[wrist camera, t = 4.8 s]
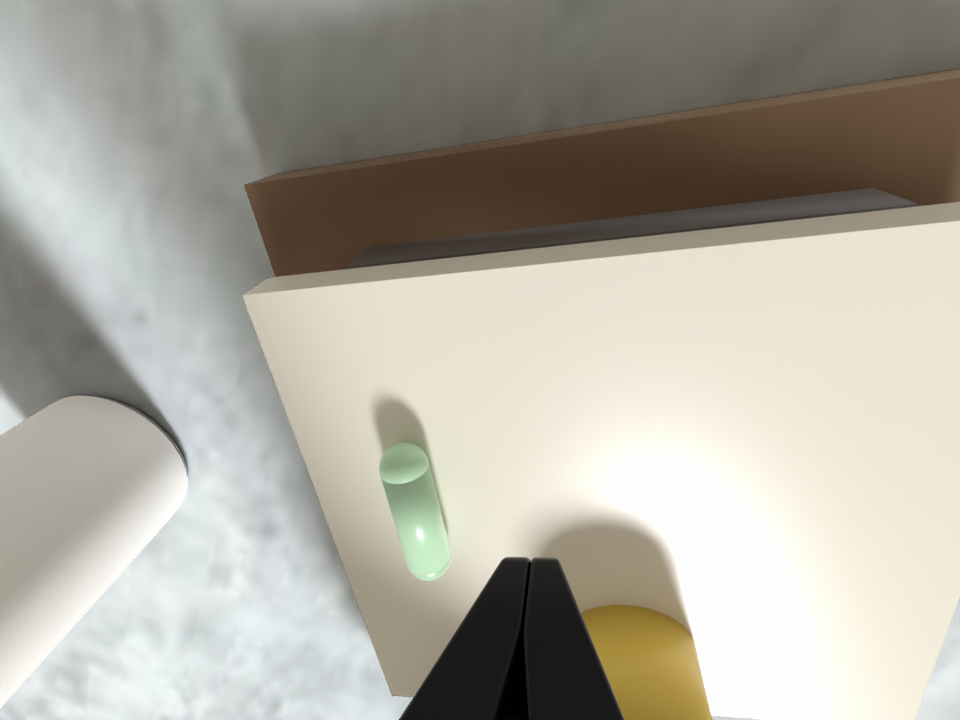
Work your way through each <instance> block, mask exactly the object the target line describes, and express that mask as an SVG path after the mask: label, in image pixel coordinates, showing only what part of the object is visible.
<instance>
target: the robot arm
mask: <svg viewBox="0 0 960 720" xmlns="http://www.w3.org/2000/svg"><path fill="white" fill-rule="evenodd" d="M399 720H625V719H624V716H623V714H622V711H621V709H620V706H619V704H618V702H617V699H616V697H615V694H614V692H613V689H612V687H611V685H610V682H609V680H608V677H607V675H606V672H605V670H604V668H603V665H602V663H601V660H600V658H599V655H598V653H597V651H596V648H595V646H594V643H593V641H592V638H591V636H590V634H589V631H588V629H587V626H586V624H585V621H584V619H583V617H582V614H581V612H580V609H579V607H578V604H577V602H576V600H575V597H574V595H573V592H572V590H571V587H570V585H569V583H568V580H567V578H566V575H565V573H564V570H563V568H562V566H561V563H560V561H559V560H558V559H557V558H555V557H534V558H533V559H532V560H530V559H529V558H527V557H505V558H503V559H502V560H501V562H500V563H499V565H498V566H497V568H496V569H495V571H494V572H493V574H492V576H491V577H490V579H489V580H488V582H487V583H486V585H485V586H484V588H483V590H482V591H481V593H480V594H479V596H478V597H477V599H476V601H475V602H474V604H473V605H472V607H471V608H470V610H469V611H468V613H467V615H466V616H465V618H464V619H463V621H462V622H461V624H460V625H459V627H458V629H457V630H456V632H455V633H454V635H453V636H452V638H451V639H450V641H449V643H448V644H447V646H446V647H445V649H444V650H443V652H442V653H441V655H440V657H439V658H438V660H437V661H436V663H435V664H434V666H433V667H432V669H431V671H430V672H429V674H428V675H427V677H426V678H425V680H424V681H423V683H422V685H421V686H420V688H419V689H418V691H417V692H416V694H415V695H414V697H413V699H412V700H411V702H410V703H409V705H408V706H407V708H406V710H405V711H404V713H403V714H402V716H401V717H400V719H399Z"/></svg>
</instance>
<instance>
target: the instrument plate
mask: <svg viewBox="0 0 960 720" xmlns="http://www.w3.org/2000/svg"><path fill="white" fill-rule="evenodd" d="M242 297H243V299H244V302H245V305H246V307H247V310H248V313H249V315H250V318H251V321H252V323H253V326H254V329H255V331H256V334H257V337H258V339H259V342H260V345H261V347H262V350H263V353H264V355H265V358H266V361H267V363H268V366H269V369H270V371H271V374H272V377H273V379H274V382H275V385H276V387H277V390H278V393H279V396H280V398H281V401H282V404H283V406H284V409H285V412H286V414H287V417H288V420H289V422H290V425H291V428H292V430H293V433H294V436H295V438H296V441H297V444H298V446H299V449H300V452H301V454H302V457H303V460H304V462H305V465H306V468H307V470H308V473H309V476H310V478H311V481H312V484H313V486H314V489H315V492H316V494H317V497H318V500H319V502H320V505H321V508H322V510H323V513H324V516H325V518H326V521H327V524H328V526H329V529H330V532H331V534H332V537H333V540H334V542H335V545H336V548H337V550H338V553H339V556H340V558H341V561H342V564H343V566H344V569H345V572H346V574H347V577H348V580H349V582H350V585H351V588H352V590H353V593H354V596H355V598H356V601H357V604H358V606H359V609H360V612H361V614H362V617H363V620H364V622H365V625H366V628H367V630H368V633H369V636H370V638H371V641H372V644H373V646H374V649H375V652H376V654H377V657H378V660H379V662H380V665H381V668H382V670H383V673H384V676H385V678H386V681H387V684H388V686H389V689H390V692H391V694H392V696H403V697H414V695H415V694H416V692H417V691H418V689H419V688H420V686H421V685H422V683H423V681H424V680H425V678H426V677H427V675H428V674H429V672H430V671H431V669H432V667H433V666H434V664H435V663H436V661H437V660H438V658H439V657H440V655H441V653H442V652H443V650H444V649H445V647H446V646H447V644H448V643H449V641H450V639H451V638H452V636H453V635H454V633H455V632H456V630H457V629H458V627H459V625H460V624H461V622H462V621H463V619H464V618H465V616H466V615H467V613H468V611H469V610H470V608H471V607H472V605H473V604H474V602H475V601H476V599H477V597H478V596H479V594H480V593H481V591H482V590H483V588H484V586H485V585H486V583H487V582H488V580H489V579H490V577H491V576H492V574H493V572H494V571H495V569H496V568H497V566H498V565H499V563H500V562H501V560H502V559H503V558H505V557H527V558H529V559H530V560H532V559H533V558H534V557H555V558H557V559H558V560H559V561H560V563H561V566H562V568H563V570H564V573H565V575H566V578H567V580H568V583H569V585H570V587H571V590H572V592H573V595H574V597H575V600H576V602H577V604H578V607H579V609H580V612H581V614H582V617H583V619H584V621H585V624H586V626H587V629H588V631H589V634H590V636H591V638H592V641H593V643H594V646H595V648H596V651H597V653H598V655H599V658H600V660H601V663H602V665H603V668H604V670H605V672H606V675H607V677H608V680H609V682H610V685H611V687H612V689H613V692H614V694H615V697H616V699H617V702H618V704H619V706H620V709H621V711H622V714H623V716H624V719H625V720H712V716H727V717H743V718H759V719H776V720H915V717H916V714H917V711H918V709H919V706H920V703H921V701H922V698H923V695H924V693H925V690H926V687H927V684H928V682H929V679H930V676H931V674H932V671H933V668H934V666H935V663H936V660H937V658H938V655H939V652H940V649H941V647H942V644H943V641H944V639H945V636H946V633H947V631H948V628H949V625H950V622H951V620H952V617H953V614H954V612H955V609H956V606H957V604H958V601H959V598H960V202H953V203H944V204H935V205H926V206H917V207H907V208H898V209H889V210H880V211H871V212H862V213H853V214H844V215H835V216H826V217H816V218H807V219H798V220H789V221H780V222H771V223H762V224H753V225H744V226H735V227H726V228H716V229H707V230H698V231H689V232H680V233H671V234H662V235H653V236H644V237H635V238H625V239H616V240H607V241H598V242H589V243H580V244H571V245H562V246H553V247H544V248H534V249H525V250H516V251H507V252H498V253H489V254H480V255H471V256H462V257H453V258H443V259H434V260H425V261H416V262H407V263H398V264H389V265H380V266H371V267H362V268H352V269H343V270H334V271H325V272H316V273H307V274H298V275H289V276H280V277H271V278H267V279H266V280H264V281H263V282H261V283H260V284H258V285H257V286H255V287H254V288H252V289H251V290H249V291H248V292H246V293H244V294H243V295H242Z"/></svg>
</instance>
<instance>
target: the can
mask: <svg viewBox="0 0 960 720" xmlns="http://www.w3.org/2000/svg"><path fill="white" fill-rule="evenodd" d="M187 491H188V473H187V467H186V463H185V460H184V458H183V455H182V453H181V451H180V449H179V448H178V446H177V445H176V443H175V442H174V440H173V439H172V438H171V437H170V436H169V434H168V433H167V432H166V431H165V430H164V429H163V428H162V427H161V426H160V425H159V424H157V423H156V422H155V421H154V420H152V419H151V418H150V417H148V416H147V415H145V414H144V413H142V412H141V411H139V410H137V409H135V408H133V407H131V406H129V405H127V404H124V403H122V402H119V401H116V400H113V399H108V398H103V397H93V396H70V397H66V398H62V399H60V400H58V401H56V402H54V403H52V404H50V405H49V406H47V407H45V408H44V409H42V410H40V411H39V412H37V413H35V414H34V415H32V416H31V417H29V418H27V419H26V420H24V421H23V422H21V423H19V424H18V425H16V426H15V427H13V428H11V429H10V430H8V431H7V432H5V433H4V434H2V435H0V708H1V707H2V706H3V705H4V704H5V703H6V701H7V700H8V699H9V698H10V697H11V696H12V695H13V694H14V693H15V691H16V690H17V689H18V688H19V687H20V686H21V685H22V684H23V683H24V681H25V680H26V679H27V678H28V677H29V676H30V675H31V674H32V673H33V671H34V670H35V669H36V668H37V667H38V666H39V665H40V664H41V663H42V661H43V660H44V659H45V658H46V657H47V656H48V655H49V654H50V653H51V651H52V650H53V649H54V648H55V647H56V646H57V645H58V644H59V642H60V641H61V640H62V639H63V638H64V637H65V636H66V635H67V634H68V632H69V631H70V630H71V629H72V628H73V627H74V626H75V625H76V623H77V622H78V621H79V620H80V619H81V618H82V617H83V616H84V615H85V613H86V612H87V611H88V610H89V609H90V608H91V607H92V606H93V605H94V603H95V602H96V601H97V600H98V599H99V598H100V597H101V596H102V594H103V593H104V592H105V591H106V590H107V589H108V588H109V587H110V585H111V584H112V583H113V582H114V581H115V580H116V579H117V578H118V577H119V575H120V574H121V573H122V572H123V571H124V570H125V569H126V568H127V566H128V565H129V564H130V563H131V562H132V561H133V560H134V559H135V557H136V556H137V555H138V554H139V553H140V552H141V551H142V550H143V548H144V547H145V546H146V545H147V544H148V543H149V542H150V541H151V539H152V538H153V537H154V536H155V535H156V534H157V533H158V532H159V530H160V529H161V528H162V527H163V526H164V525H165V524H166V522H167V521H168V520H169V519H170V518H171V517H172V516H173V514H174V513H175V512H176V511H177V510H178V508H179V507H180V506H181V505H182V503H183V502H184V500H185V498H186V495H187Z"/></svg>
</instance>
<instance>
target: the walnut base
mask: <svg viewBox="0 0 960 720" xmlns="http://www.w3.org/2000/svg"><path fill="white" fill-rule="evenodd" d="M244 186H245V189H246V192H247V195H248V198H249V201H250V204H251V206H252V209H253V212H254V215H255V218H256V221H257V224H258V227H259V230H260V233H261V236H262V238H263V241H264V244H265V247H266V250H267V253H268V256H269V259H270V262H271V265H272V268H273V270H274V273H275V276H276V277H280V276H289V275H298V274H307V273H316V272H325V271H334V270H343V269H352V268H362V267H371V266H380V265H389V264H398V263H407V262H416V261H425V260H434V259H443V258H453V257H462V256H471V255H480V254H489V253H498V252H507V251H516V250H525V249H534V248H544V247H553V246H562V245H571V244H580V243H589V242H598V241H607V240H616V239H625V238H635V237H644V236H653V235H662V234H671V233H680V232H689V231H698V230H707V229H716V228H726V227H735V226H744V225H753V224H762V223H771V222H780V221H789V220H798V219H807V218H816V217H826V216H835V215H844V214H853V213H862V212H871V211H880V210H889V209H898V208H907V207H917V206H926V205H935V204H944V203H953V202H960V69H956V70H949V71H943V72H936V73H930V74H923V75H917V76H910V77H904V78H897V79H891V80H884V81H878V82H871V83H864V84H858V85H851V86H845V87H838V88H832V89H825V90H819V91H812V92H806V93H799V94H793V95H786V96H779V97H773V98H766V99H760V100H753V101H747V102H740V103H734V104H727V105H721V106H714V107H708V108H701V109H694V110H688V111H681V112H675V113H668V114H662V115H655V116H649V117H642V118H636V119H629V120H623V121H616V122H610V123H603V124H596V125H590V126H583V127H577V128H570V129H564V130H557V131H551V132H544V133H538V134H531V135H525V136H518V137H511V138H505V139H498V140H492V141H485V142H479V143H472V144H466V145H459V146H453V147H446V148H440V149H433V150H427V151H420V152H413V153H407V154H400V155H394V156H387V157H381V158H374V159H368V160H361V161H355V162H348V163H342V164H335V165H328V166H322V167H315V168H309V169H302V170H296V171H289V172H283V173H278V174H275V175H273V176H270V177H267V178H264V179H261V180H258V181H255V182H252V183H249V184H246V185H244Z"/></svg>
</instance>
